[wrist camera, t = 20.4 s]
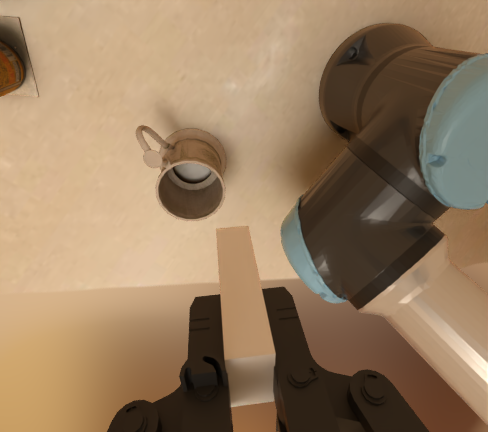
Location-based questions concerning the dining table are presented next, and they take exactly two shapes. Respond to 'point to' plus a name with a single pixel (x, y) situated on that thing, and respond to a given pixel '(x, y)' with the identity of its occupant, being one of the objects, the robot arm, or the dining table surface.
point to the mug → (175, 190)
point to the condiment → (14, 60)
